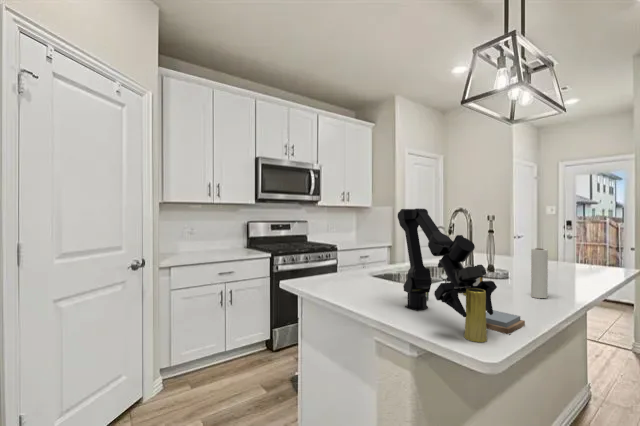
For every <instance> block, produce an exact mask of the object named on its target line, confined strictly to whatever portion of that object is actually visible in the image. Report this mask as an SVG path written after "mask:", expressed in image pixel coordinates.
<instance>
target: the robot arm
mask: <svg viewBox="0 0 640 426" xmlns="http://www.w3.org/2000/svg"><path fill="white" fill-rule="evenodd" d="M397 220H398V222H399V226H400V227H401V229H402V230H403V231H404V233H405V240H406V246H407V253H408V260H409V267H410V268H409V269H408V271H407V279H406V280H405V282H404V284H403V291H404V292H405V293H407V304H406V305H404V307H405V308H408V309H410V310H411V309H412V310H415V311H422V310H423V311H424V310H425V309H428V308H429V306H428V305H427V302H428V301H427V297H426V292H429V293H430V291H431V286H432V276H431V270H430V269H429V268H426V266H425V265H424V260H423V255H422V249H421V248H422V247H421V242H420V238H419V236H420V235H419V227H420V229H421V231H422V232H423V233H424V235H425V236H426V238H427V240H428V243H427V247H428V248H429V251H430V253H431V255H432V256H434V257H441V259H439V260H438V263H437V267H438V269H441V268H442V269H443V270H444V272H445V274H446V276H447V277H446V279H445V281H446V282H441V283H439V285H438V286H437V288H436V289H435V290H434V293H433V294H434V295H433V296H434V297H435V299H436V301H441V303H444V304H446V305H447V306H449V307H450V308H452V309H453V310H454V311H456V312H457V313H458V314H459V315H461V317H463V318H466V316H467V314H466V308H464V305H463V303H462V301H461V299H460V298H459V297H460V296H459V294H463V293H466V289H468V288H477V289H482V290H485V291H486V312H488V313H489V314H490V315H492V314H493V310H494V308H493V304H492V294H493V292H495V290H496V289H497V288H498V286H497V285H496V283H495V281H494V280H483V281H481V282H480V283H479V284H478V285H477V286H473V283H476V279H477V278H480V277H481V278H482V277H483V278H484V276H485V275H486V274H487V270H486V268H485V267H484V265H483V264H477V265H473V266H467V267H464V266H463V263H464V262H465V261H467V259H469V257H470V255H471V254H472V252H473V251H474V250H475V249H476V248H475V247H476V246H475V243H474V242H473V241H471V240H470V239H469V238H466V237H464V236H463V234H457V235H455V238H454V239H453V240H452V239H451V237H449V236H448V235H447V234H445V233H443V232H442V231H440V228H438V226H437V224H436V223H435V222H434V220H433V219H432V218H431V216H430V215H429V211H428V209H426V208H402V209H400V210H399V211H398V212H397Z"/></svg>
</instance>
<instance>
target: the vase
mask: <svg viewBox="0 0 640 426" xmlns="http://www.w3.org/2000/svg"><path fill="white" fill-rule="evenodd" d="M465 312H466V314H467V316H466V317H465V319H464V322H465V324H464V334H463V338H465V339H466V341H469V342H474V343H485V342H487V341H488V336H487V333H488V332H487V331H488V329H487V328H486V312H487V311H486V291H485V290H482V289H477V288H468V289H466V296H465Z"/></svg>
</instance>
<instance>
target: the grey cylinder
mask: <svg viewBox="0 0 640 426" xmlns="http://www.w3.org/2000/svg"><path fill="white" fill-rule="evenodd" d="M530 252H531V253H530V254H531V255H530V257H531V258H530V260H531V261H530V262H531V264H530V265H531V269H530V274H531V275H530V278H531V279H530V280H531V281H530V295H531V296H530V297H532V298H534V299H540V298H546V299H548V297H549V296H548V290H549V289H548V287H549V286H548V285H549V284H548V279H549V278H548V275H549V274H548V271H549V269H548V265H549V264H548V263H549V262H548V261H549V260H548V259H549V258H548V257H549V255H548V254H549V253H548V252H549V250H548V249H546V248H537V247H535V248H531V251H530Z"/></svg>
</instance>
